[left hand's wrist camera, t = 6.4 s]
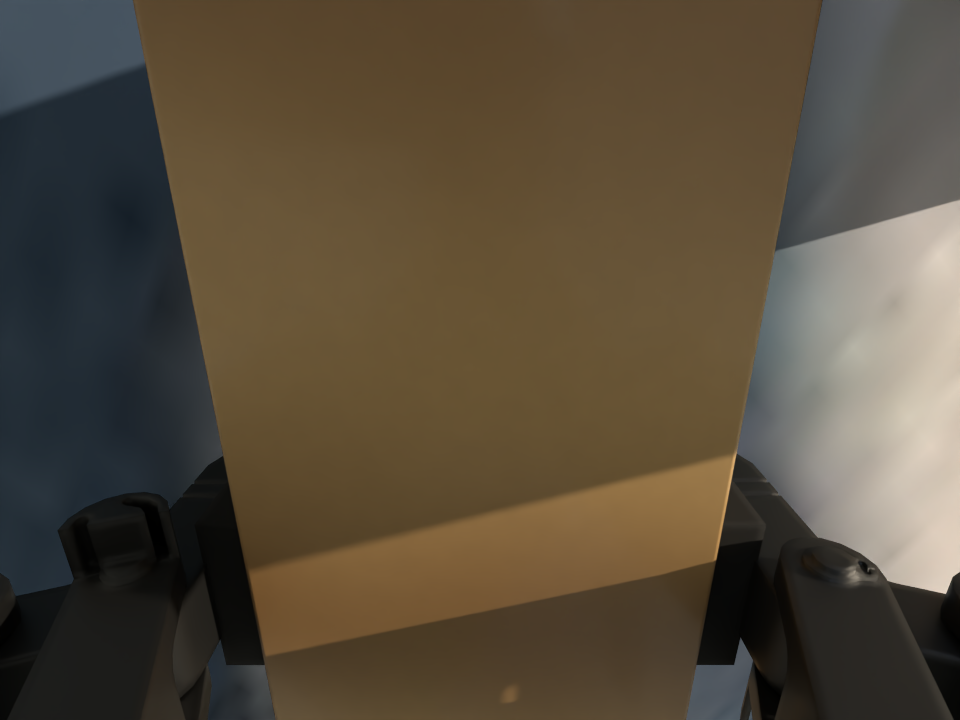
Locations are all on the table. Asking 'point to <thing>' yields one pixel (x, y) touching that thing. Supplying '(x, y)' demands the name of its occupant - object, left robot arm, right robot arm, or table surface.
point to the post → (479, 329)
